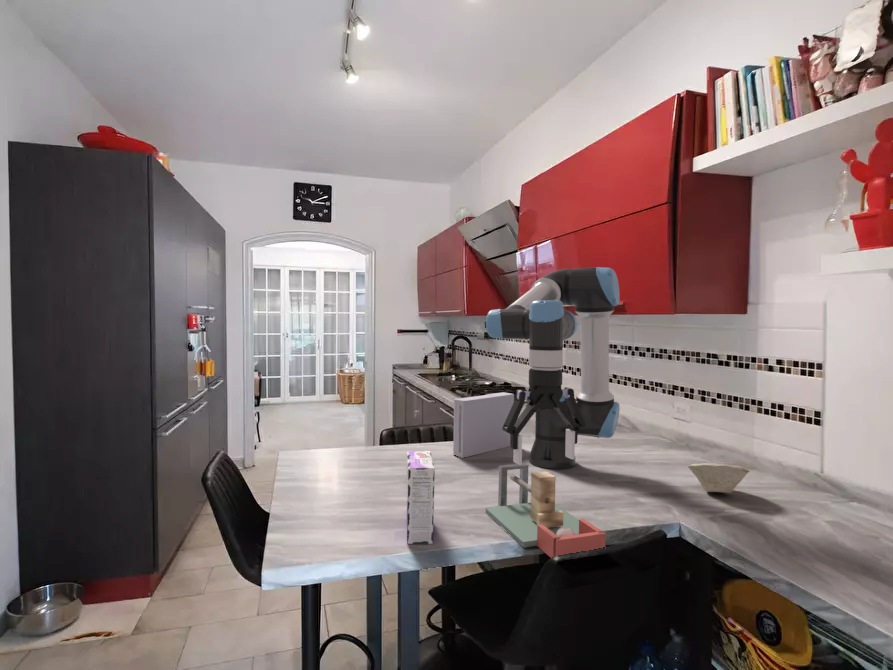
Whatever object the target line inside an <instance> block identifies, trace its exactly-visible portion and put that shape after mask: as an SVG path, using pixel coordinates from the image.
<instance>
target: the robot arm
mask: <svg viewBox="0 0 893 670" xmlns="http://www.w3.org/2000/svg"><path fill="white" fill-rule="evenodd" d="M620 300H621V299H620V284H619V279H618V276H617V273H616V271H615V270H614V269H613V268H611V267H603V266H602V267H600V266H597V267H596V266H595V267H581V268H579V267H578V268H577V267H575V268H562V269H558V270H555V271H552V272H549V273H547V274H545V275H543V276H541V277H540V278H539V279H537V280H535V281H534V283H533V284H532V285H531V287H530V289H529V290H528V291H526V292H525V293H524V294H523V295H521V296H520V297H518V298H517V300H515V301H514V302H512V303H511V304H510V305H509V306H507V307H506V308H504V309H501V308H498V309H497V308H496V309H491V310H489V311H488V312H487V315H486V319H485V328H486V333H487V335H488V336H489V337H490V338H492V339H501V340H506V339H507V340H529V342H528V343H529V345H528V350H529V351H528V353H529V354H528V366H529V367H531V368H529V370H528V390H521V389H517V390H516V391H515V395H514V403H513V405H512V407H511V410H510V412H509V414H508V416H507V418H506V421H505V423H504V425H503V427H502V430H503V431H505V432H507V433H510V446H509V447H510V449H512V450H513V451H512V453H513V454H512V455H513V457H512V463H513V462H514V463H515V464H518V465H522V464H523V463H522V462H523V461H522V460H523V435H521V434H520V433H521V432H522V431H523V429H524V427H526V425H527V424H528V422H529V421H530V420H531V418H532V417H533V415H534V414H535V425H534V428H535V429H534V430H535V431H534V432H535V433H534V434H535V435H534V440H533V445H532V447H531V450H530V452H529V463H530V464H532V465H534V466H535V467H539V468H545V469H553V470H554V469H555V470H556V469H557V470H561V469H562V470H563V469H570V468H573V467H575V466H576V456H575V453H576V452H575V451H576V450H575V449H576V448H575V446H576V445H577V444H578V436H583V437H590V438H591V437H592V438H597V439H600V438H601V439H602V438H603V439H611V438H613V437H614V435H615V433H616V430H617V426H618V423H619V422H618V421H619V416H620V411H621V408H620V403H619V402H617V401H615V395H614V394H613V392H611V391H610V343H609V342H610V336H609V335H610V330H609V329H610V318H609V317H610V316H611V314H613V312H615V307H617V306H618V305H619V304H620ZM564 306H574V310H575V312H574V313H576V314H577V316H579V319H580V320H579V321H580V323H579V324H580V325H579V327H580V332H579V333H580V334H579V335H580V390H579V392H578V393H576V397H575V391H574V390H575V389H573V388H570V387H566V386H565V387H563V389H562V385H563V370H562V369H561V368H562V367H563V366H564V363H563V361H564V359H563V358H564V357H563V356H564V352H563V350H564V347H563V346H564V345H563V344H564V343H563V342H564V341H566V340H568V339H569V338H572V336H574V334H575V333H576V331H577V330H578V320H577V318H576V315H575V314H574V313H572V312H571V311H570V310H567V309H564ZM528 398H529V401H528V402H527V404H526V405H524V404H525V402H526V400H528ZM524 406H525V408H524ZM523 408H524V410H523V411H522V409H523Z"/></svg>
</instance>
